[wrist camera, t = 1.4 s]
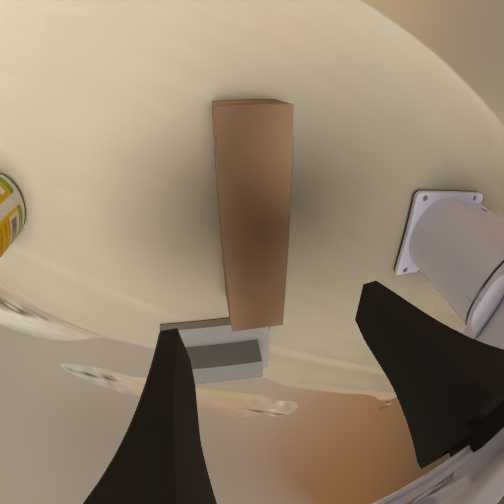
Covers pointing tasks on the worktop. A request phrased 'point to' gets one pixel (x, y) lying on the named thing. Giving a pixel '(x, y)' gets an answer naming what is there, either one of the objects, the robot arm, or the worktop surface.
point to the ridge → (223, 350)
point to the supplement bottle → (10, 213)
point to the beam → (254, 206)
